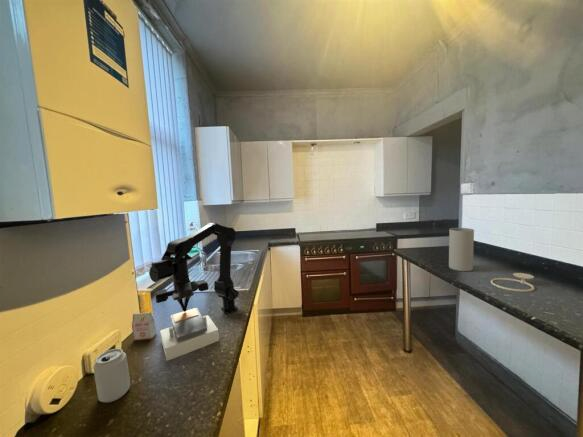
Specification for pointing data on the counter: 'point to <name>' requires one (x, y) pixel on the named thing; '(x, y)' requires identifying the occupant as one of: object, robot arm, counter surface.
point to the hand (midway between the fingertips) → (184, 311)
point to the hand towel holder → (519, 275)
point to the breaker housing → (188, 340)
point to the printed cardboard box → (143, 326)
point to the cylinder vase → (461, 249)
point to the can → (111, 375)
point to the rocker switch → (188, 324)
